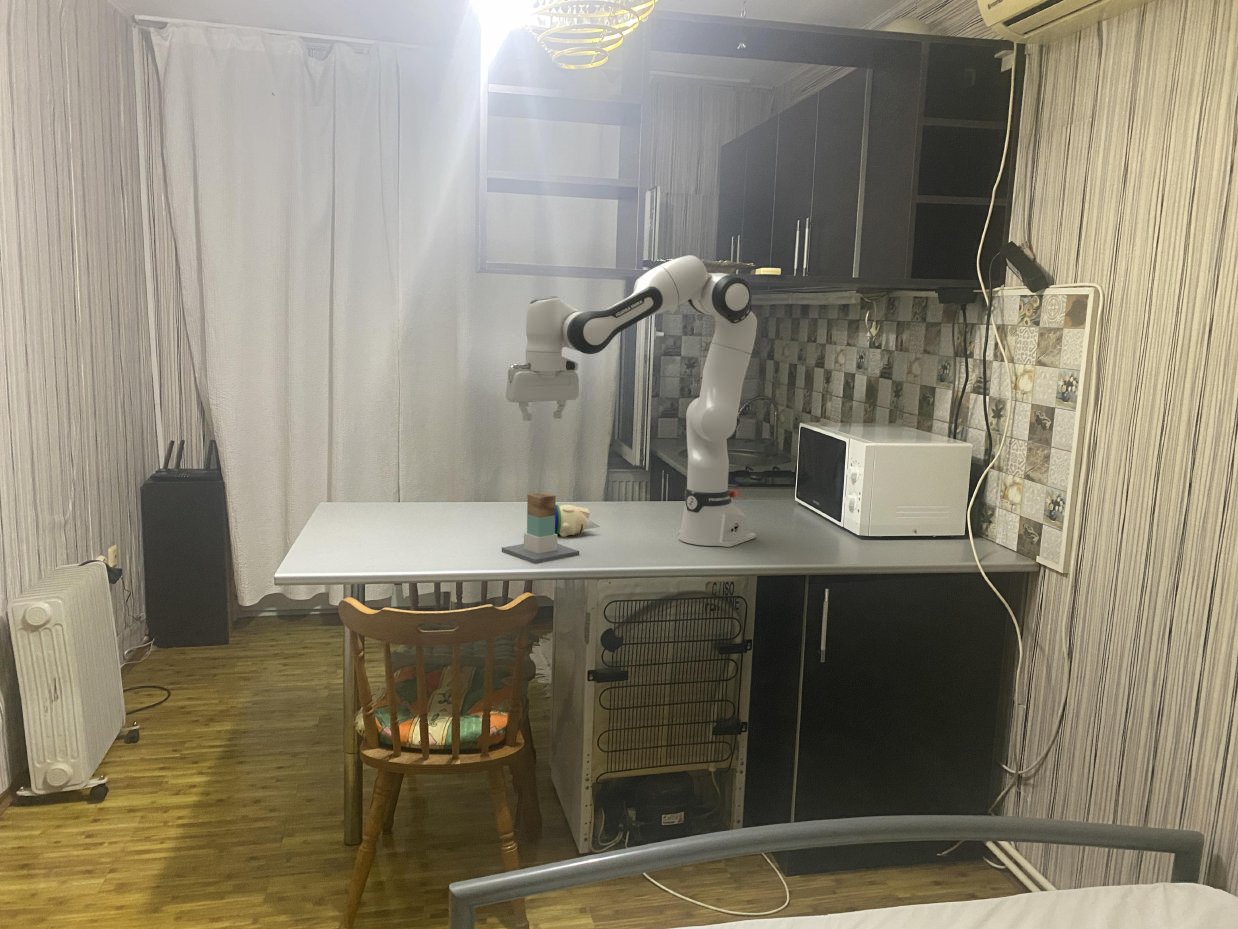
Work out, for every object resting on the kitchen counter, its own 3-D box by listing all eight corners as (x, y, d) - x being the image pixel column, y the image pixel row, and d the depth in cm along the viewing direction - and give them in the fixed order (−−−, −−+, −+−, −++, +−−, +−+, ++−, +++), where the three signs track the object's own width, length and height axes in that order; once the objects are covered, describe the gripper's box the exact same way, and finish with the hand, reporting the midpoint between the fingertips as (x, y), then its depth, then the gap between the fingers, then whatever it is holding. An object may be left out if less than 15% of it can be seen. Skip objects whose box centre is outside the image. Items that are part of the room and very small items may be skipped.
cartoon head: (599, 544, 255) (528, 545, 249) (592, 520, 262) (523, 520, 256) (605, 521, 250) (532, 521, 244) (598, 498, 256) (527, 497, 251)
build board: (545, 543, 243) (545, 525, 242) (579, 554, 233) (579, 535, 232) (501, 551, 234) (501, 532, 233) (534, 563, 224) (535, 543, 223)
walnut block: (543, 511, 235) (543, 492, 235) (555, 515, 232) (555, 495, 231) (527, 514, 232) (527, 494, 231) (539, 517, 228) (539, 497, 228)
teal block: (542, 530, 236) (543, 511, 235) (554, 534, 233) (555, 515, 232) (526, 533, 233) (527, 514, 232) (538, 537, 229) (539, 517, 228)
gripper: (516, 364, 216) (515, 423, 219) (583, 363, 230) (581, 418, 232) (501, 363, 221) (500, 420, 223) (567, 362, 235) (566, 416, 237)
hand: (542, 419), depth 228 cm, fingers open, 8 cm apart
